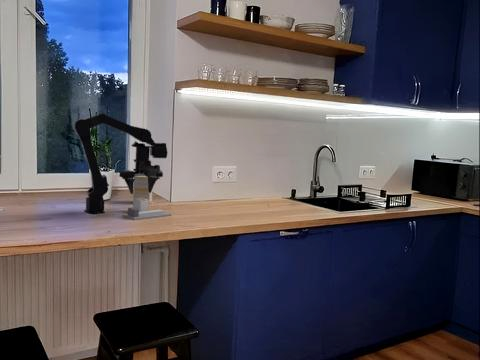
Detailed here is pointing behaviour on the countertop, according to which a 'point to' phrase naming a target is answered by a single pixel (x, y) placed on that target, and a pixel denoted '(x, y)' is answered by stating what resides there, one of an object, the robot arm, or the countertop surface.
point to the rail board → (144, 214)
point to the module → (140, 204)
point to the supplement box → (141, 188)
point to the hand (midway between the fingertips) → (140, 193)
